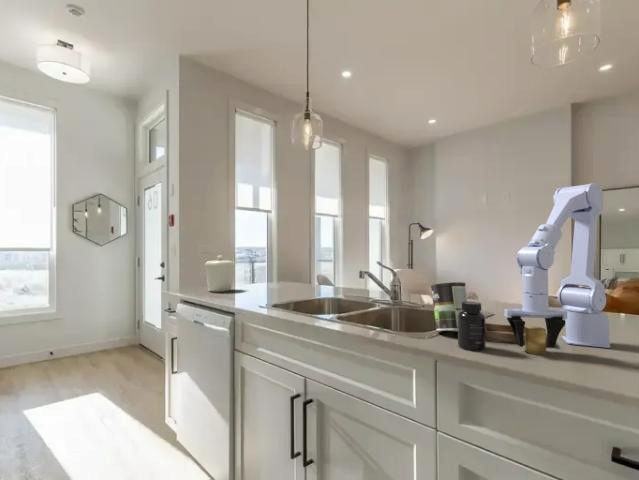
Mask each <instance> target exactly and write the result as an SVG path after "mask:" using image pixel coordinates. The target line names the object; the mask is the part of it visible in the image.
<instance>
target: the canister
mask: <svg viewBox="0 0 639 480" xmlns="http://www.w3.org/2000/svg"><path fill="white" fill-rule="evenodd" d="M216 259H217V260H215V259H214V260H208V261H206V262H205V263H203V265H204V267H205V274H206V275H205V278H206V285H207V289H208V291H210V292H212V293H215V292H216V293H222V292H223V293H224V292H229V291H231V290H232V287H233V281H234V274H235V265H236V262H234V260H227V259H224V256H223V255H220V254H219V255H217V256H216Z"/></svg>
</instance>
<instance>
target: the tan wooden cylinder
mask: <svg viewBox="0 0 639 480" xmlns="http://www.w3.org/2000/svg"><path fill="white" fill-rule="evenodd" d="M546 334H547V328H546V327H545V328H544V327H540V326H531V325H528V326H526V327H525V345H524V346H525V347H524V348H525V350H524V351H525V352H526V353H529V354H533V355H546V354H547V347H546Z"/></svg>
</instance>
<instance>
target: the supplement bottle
mask: <svg viewBox="0 0 639 480" xmlns="http://www.w3.org/2000/svg"><path fill="white" fill-rule="evenodd" d="M461 309H462V310H463V311H462V312H460V313H459V314H458V330H457V345H458V347H459V348H460V349H463V350H466V351H472V352H482V351H484V350H485V349H486V348H487V347H486V346H487V345H486V344H487V341H486V323H487V322H486V316H485V314H484V313H482V312H481V311H482V303H481V302H479V301H469V300H467V301H465V302H462V307H461Z"/></svg>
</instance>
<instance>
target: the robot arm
mask: <svg viewBox="0 0 639 480" xmlns="http://www.w3.org/2000/svg"><path fill="white" fill-rule="evenodd" d="M604 196H605V194H604V192H603V190H602V188H601V186H600V185H599V184H598V183H596V182H591V183H588V184H587V183H586V184H580V185H575V186H567V187H559V188H557V189H556V190H555V191H554V195H553V196H552V199H553V200H552V201H553V204H554V205H553V208H552V210H551V212H550V214H549V216H548V218H547V220H546V222H545V223H543V224H540V225H539V226H538V228H537V229H536V230H535V232H534V234H533V235H532V237H531V239H530V240H529V242H528V244H527V246H523V247H522V248H521V249H519V251H518V253H517V256H516V263H517V265H518V267H519V273H520V275H521V280H522V281H521V289H522V290H521V292H522V294H521V295H522V296H521V297H522V299H521V301H522V302H521V303H522V308H520V307H518V308H504V309H503V313H504V314H503V315H504V317H505V318H506V320H507V322H508V325H511V328H512V330H513V332H514V335H515V339H516V343H517V344H516V345H517V346H519V347H521V348H523V347H524V345H523V344H524V340H523V333H524V326H526V321H525V320H523V318H530V319H531V318H533V319H535V318H537V319H544V321H545V328H546V334H547V344H548V346H550V347H551V348H555V347H556V346H557V345H556V344H557V341H558V338H559V335H560V333H561V331H562V329H564V327H565V335H561V338H562V340H564V341H565V342H566V344H568V345H573V346H574V345H575V346H587V347H596V348H607V349H610V348H611V345H610V319H609V316H608V314H607V313H606V312H603V309H605V307H606V304H607V297H606V292H605V291H606V290H605V288H606V287H605V285H604V284H603V283H602V282H601V281H599V279H597V278H596V277H594V269H595V268H594V267H595V256H596V255H595V254H596V245H597V244H596V243H597V228H598V217H599V216H601V215H602V214H603V209H604V198H605V197H604ZM569 218H571V219H573V220H574V229H573V242H572V254H571V265H570V266H571V267H570V274H569V275H568V276H567V277H565V278H563V279H562V280H560V287H559V289H558V290H557V301H558V303H559V305H561V307H562V309H549V269H550V268H551V267H552V266H553V265H554V261H555V254H556V253H555V252H556V251H555V248H556V247H557V245H558V244H559V242H560V240H561V238H562V237H563V232H562V230H561V228H563V226H564V225H565V223H566V222H567V221H568V219H569ZM601 311H602V312H601ZM550 347H549V348H550Z"/></svg>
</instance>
